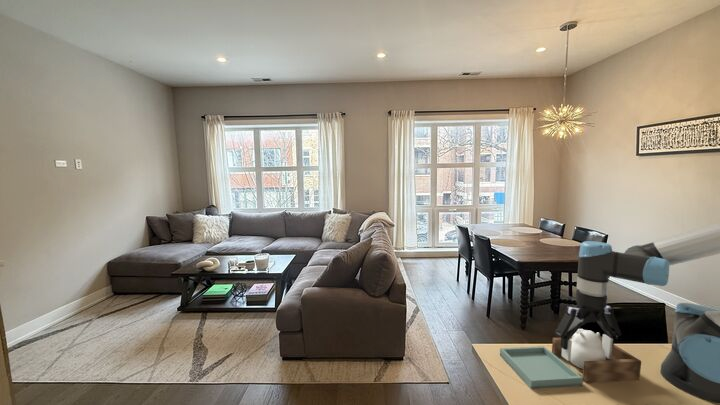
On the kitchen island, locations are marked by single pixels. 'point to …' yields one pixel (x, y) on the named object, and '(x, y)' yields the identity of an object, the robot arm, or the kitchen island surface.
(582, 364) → the figurine
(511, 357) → the tray
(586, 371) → the wooden open box
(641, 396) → the kitchen island surface
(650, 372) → the kitchen island surface
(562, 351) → the robot arm
